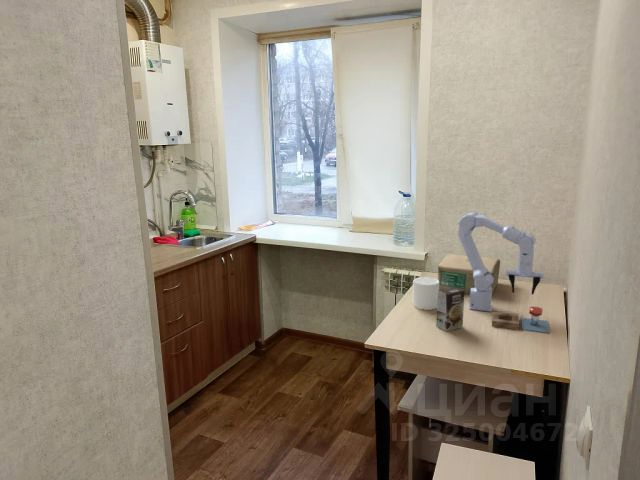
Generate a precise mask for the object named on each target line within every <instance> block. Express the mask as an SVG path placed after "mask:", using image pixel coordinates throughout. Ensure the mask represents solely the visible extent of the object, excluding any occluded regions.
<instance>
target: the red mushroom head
mask: <svg viewBox="0 0 640 480" xmlns="http://www.w3.org/2000/svg"><path fill="white" fill-rule="evenodd" d="M528 311H529V312H528V313H529V314H530V316H531V318H530V319H531V325H532V326H538V325H539V320H540V316H542V315H543V308H541V307H539V306H530V307H529V310H528Z"/></svg>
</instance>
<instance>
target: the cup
mask: <svg viewBox="0 0 640 480" xmlns="http://www.w3.org/2000/svg"><path fill="white" fill-rule="evenodd" d="M438 290H439V281H438V278H435V277H432V276H431V277H429V276H421V277H420V276H419V277H415V278H414V279H413V281H412V306H413V307H414V308H416V309H417V310H422V309H424V311H432V309H433V310H435V309H436V310H437V302H438Z"/></svg>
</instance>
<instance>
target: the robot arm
mask: <svg viewBox="0 0 640 480" xmlns="http://www.w3.org/2000/svg"><path fill="white" fill-rule="evenodd" d="M479 227H480V228H483V227H484V228H487V229H489V230H492V231H494V232H496V233H499V234H500V235H501V236H502V238H503V239H505V240H506V241H509V242H511V243H513V244H516V245H518V247H519V251H518V261H517V262H518V263H517V270H514V269H512V270H508V269H507V270H506V271H505V276H507V277H508V280H509V282H510V285H511V291H512V293H515V280H516V277H522V278H532V287H531V295H534V294H535V291H536V289H537V287H538V285H539V284H540V283H541V280H543V279H544V273H543V272H536V271H533V266H534V265H533V263H534V255H535V254H534V251H535V247H534V245H536V242H537V238H536V236H535V235H534V234H532V233H529V232H527V231H522V230H519V229H517V228H516V226H514V225H512V226H511V225H508V226H504V225H502V224H500V223H498V222H497V221H495V220H493V219H491V218H489V217H487V216H485V215H483V214H482V213H479V212H477V211H470V212H469V213H467V214H465V215H463V216H461V218H460V220H459V221H458V232H457V236H458V239H459V241H460V244H461V246H462V248H463V251H464V252H465V256H467V257H468V260H469V262H470V264H471V267H472V269H473V278H474V285H475V288H471V292H470V294H469V303H468V304H469V309H470V310H475V311H483V312H484V311H485V312H493V311H492V310H493V304H492V301H493V300H492V299H493V297H492V295H493V292H492V287H491V285H492V284H493V282H494V277H493V275H492V274H490V273H489V271H488V269H487V268H486V267H485V266H484V264H483V262H482V259H481V257H482V256H481V255H480V253H479V251H478V248H477V246H476V244H475V243H476V242H475V241H474V239H473V236H472V234H473V231H474V229H475V228H479Z"/></svg>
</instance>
